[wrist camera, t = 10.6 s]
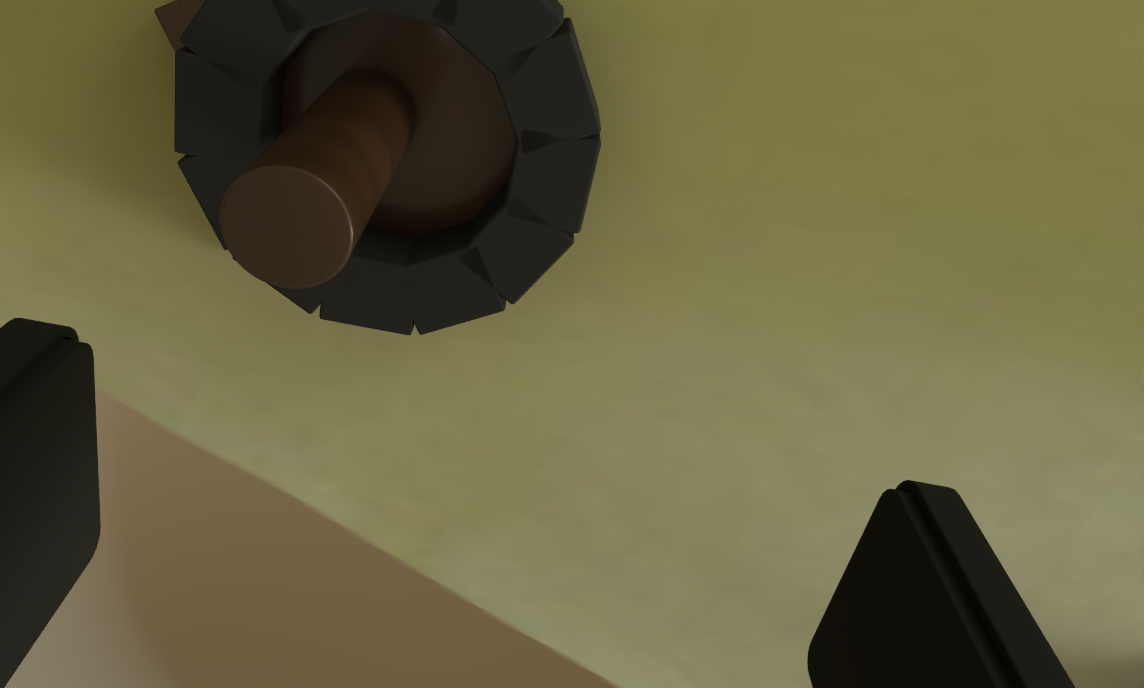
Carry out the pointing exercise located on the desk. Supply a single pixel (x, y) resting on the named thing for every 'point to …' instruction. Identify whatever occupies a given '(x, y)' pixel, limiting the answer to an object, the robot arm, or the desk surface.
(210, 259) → the desk surface
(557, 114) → the charcoal ring
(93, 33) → the desk surface
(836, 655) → the robot arm
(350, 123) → the peg stand
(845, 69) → the desk surface
